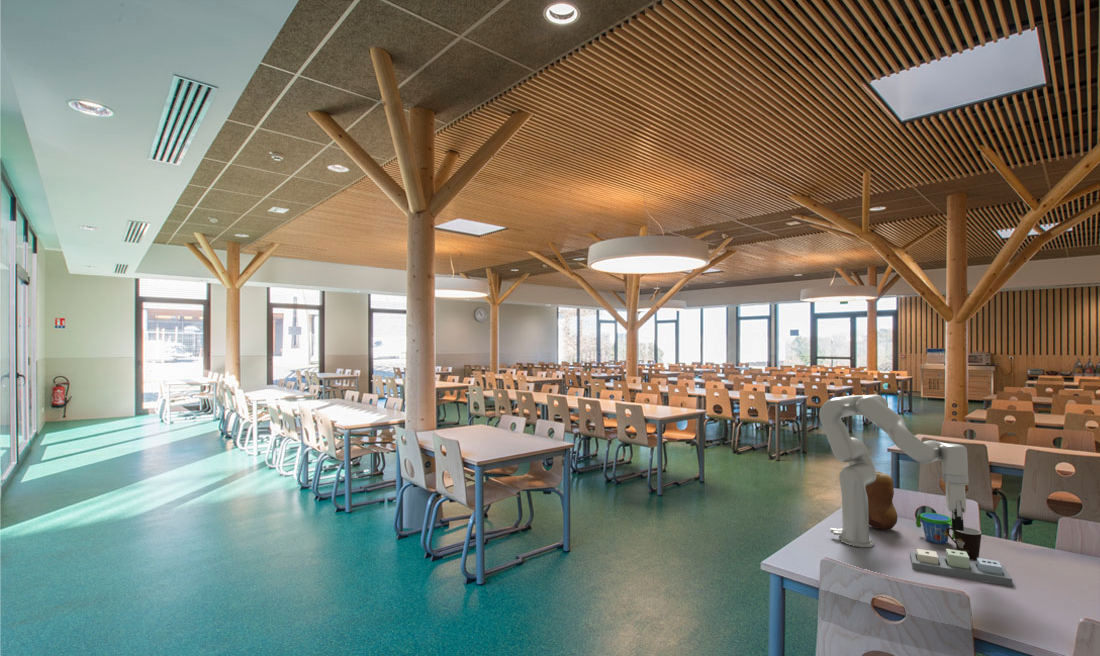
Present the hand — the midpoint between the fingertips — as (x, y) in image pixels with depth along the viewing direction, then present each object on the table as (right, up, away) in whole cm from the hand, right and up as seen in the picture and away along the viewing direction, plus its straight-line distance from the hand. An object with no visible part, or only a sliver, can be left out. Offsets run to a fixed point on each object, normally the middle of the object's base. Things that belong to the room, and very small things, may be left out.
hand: (957, 529), depth 192 cm
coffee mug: (+14, -15, +14) cm, 25 cm away
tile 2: (+8, -14, -5) cm, 17 cm away
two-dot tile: (0, -13, 0) cm, 13 cm away
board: (0, -15, 0) cm, 15 cm away
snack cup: (+13, -16, +28) cm, 35 cm away
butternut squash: (-1, -16, +43) cm, 46 cm away
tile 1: (-8, -14, +4) cm, 17 cm away
